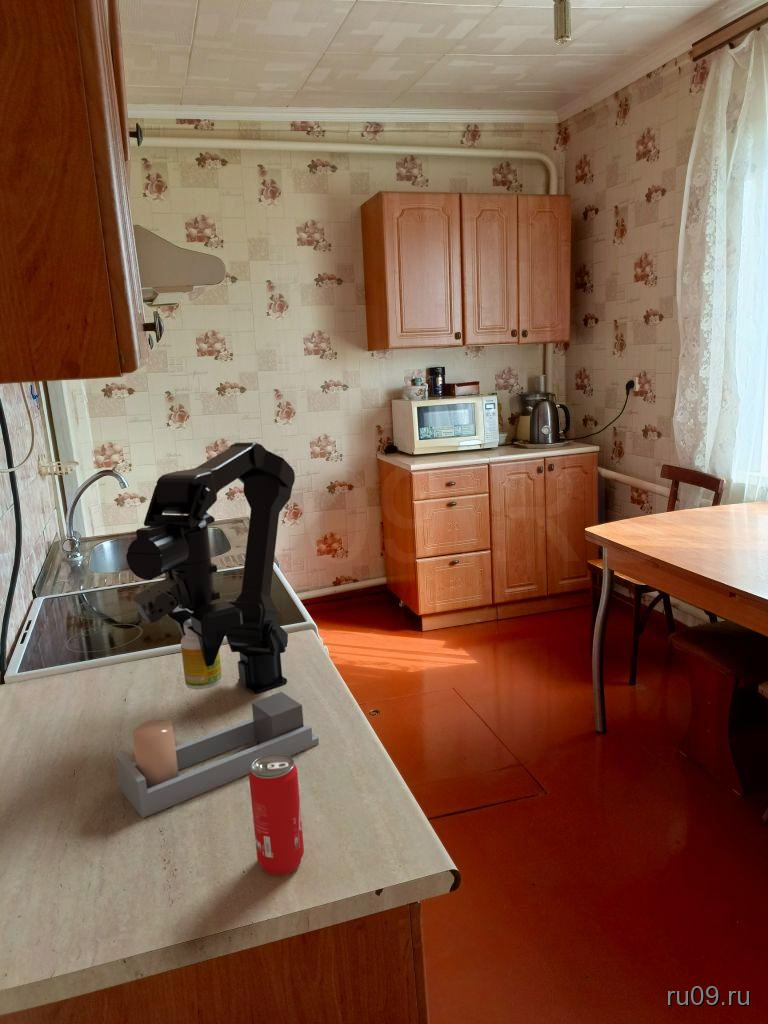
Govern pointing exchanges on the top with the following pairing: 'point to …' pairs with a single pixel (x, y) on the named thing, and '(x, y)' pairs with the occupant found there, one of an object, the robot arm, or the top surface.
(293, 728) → the block
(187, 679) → the supplement bottle
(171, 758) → the jar
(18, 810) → the top surface
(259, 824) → the beverage can
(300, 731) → the tray
